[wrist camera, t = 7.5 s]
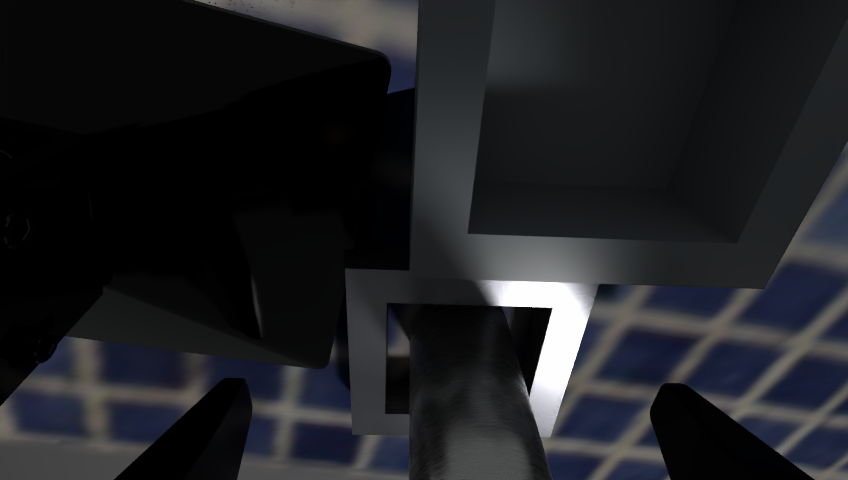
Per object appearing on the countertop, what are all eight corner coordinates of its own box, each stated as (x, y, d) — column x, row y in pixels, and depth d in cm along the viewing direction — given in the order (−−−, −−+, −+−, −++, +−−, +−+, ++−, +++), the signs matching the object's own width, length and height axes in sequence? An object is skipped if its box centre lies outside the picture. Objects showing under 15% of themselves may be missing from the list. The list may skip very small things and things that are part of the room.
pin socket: (584, 249, 9) (601, 276, 8) (539, 404, 12) (550, 437, 11) (351, 241, 9) (345, 268, 8) (356, 401, 12) (352, 434, 11)
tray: (819, -134, 6) (1039, -200, 4) (679, 215, 9) (764, 288, 7) (426, -167, 6) (433, -254, 4) (409, 205, 9) (408, 277, 7)
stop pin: (524, 288, 10) (686, 716, 4) (508, 374, 11) (610, 783, 5) (402, 286, 10) (388, 722, 4) (400, 373, 11) (389, 789, 5)
